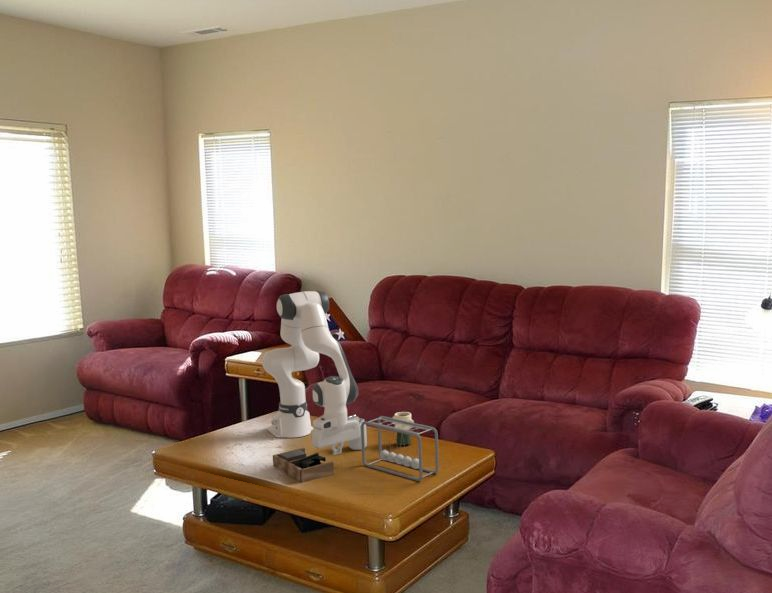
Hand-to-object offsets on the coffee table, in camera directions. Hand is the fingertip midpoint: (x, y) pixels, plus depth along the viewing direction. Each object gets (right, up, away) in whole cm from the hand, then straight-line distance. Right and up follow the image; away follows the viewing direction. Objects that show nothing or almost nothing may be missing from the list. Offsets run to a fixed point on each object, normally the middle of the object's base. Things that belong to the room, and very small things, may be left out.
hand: (337, 453), depth 289 cm
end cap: (-9, -6, -7) cm, 13 cm away
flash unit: (-17, -6, +1) cm, 18 cm away
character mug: (+26, -1, +24) cm, 36 cm away
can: (+7, -2, +21) cm, 23 cm away
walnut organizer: (-13, -6, -2) cm, 14 cm away
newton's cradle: (+24, -5, -6) cm, 25 cm away
